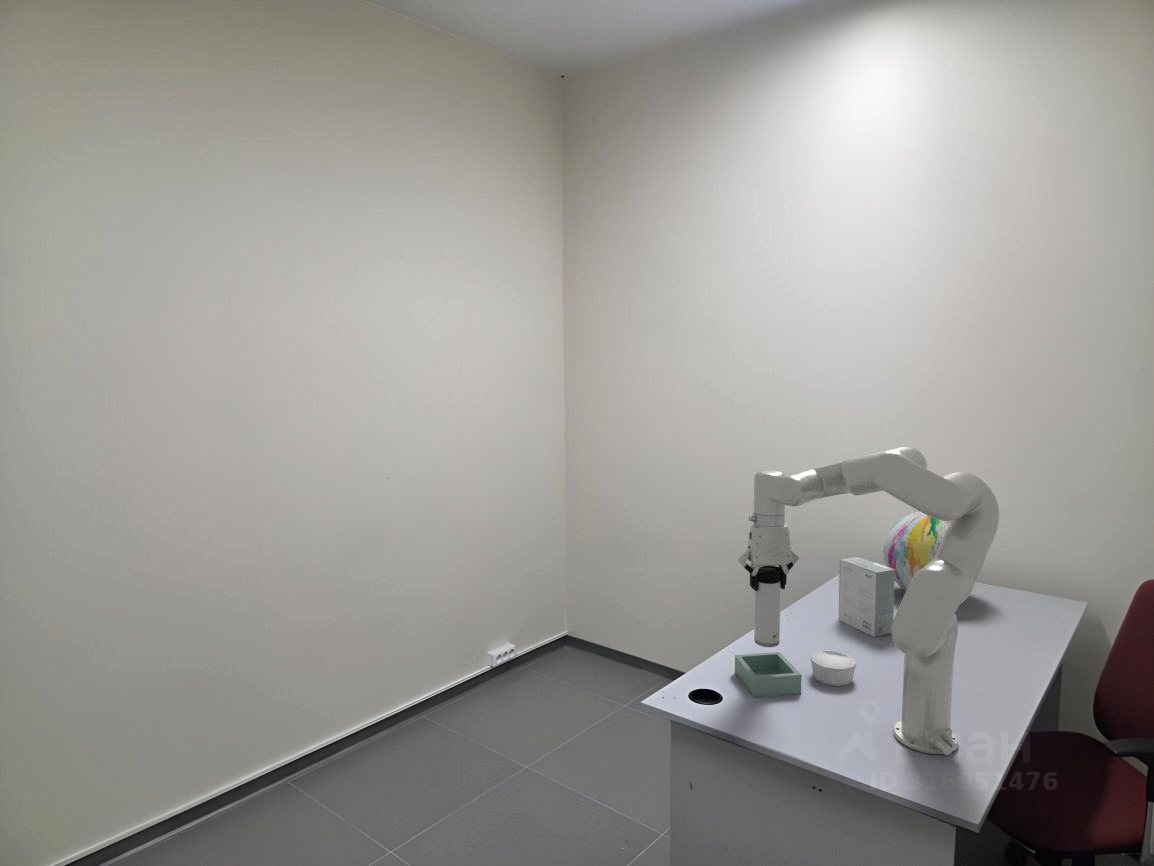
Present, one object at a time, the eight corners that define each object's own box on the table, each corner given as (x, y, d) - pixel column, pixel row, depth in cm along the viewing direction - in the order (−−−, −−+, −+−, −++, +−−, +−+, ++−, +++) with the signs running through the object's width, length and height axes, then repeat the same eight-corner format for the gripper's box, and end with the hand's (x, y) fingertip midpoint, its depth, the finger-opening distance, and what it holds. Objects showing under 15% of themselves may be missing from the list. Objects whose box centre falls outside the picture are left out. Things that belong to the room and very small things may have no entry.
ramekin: (854, 671, 184) (855, 653, 184) (856, 691, 174) (857, 671, 173) (810, 666, 188) (811, 647, 187) (809, 684, 178) (810, 665, 177)
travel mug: (781, 648, 174) (783, 571, 172) (754, 646, 175) (755, 570, 173) (779, 638, 180) (781, 564, 178) (753, 636, 181) (754, 563, 179)
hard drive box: (894, 633, 208) (896, 569, 206) (874, 638, 205) (876, 573, 203) (855, 616, 222) (857, 555, 220) (837, 619, 219) (838, 558, 217)
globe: (863, 588, 247) (865, 506, 244) (930, 578, 256) (933, 499, 253) (928, 618, 219) (932, 526, 215) (1001, 606, 228) (1006, 517, 224)
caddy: (801, 693, 173) (801, 674, 172) (753, 697, 171) (753, 678, 171) (779, 669, 186) (779, 651, 186) (734, 673, 185) (734, 655, 184)
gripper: (741, 525, 169) (740, 595, 171) (808, 521, 171) (806, 591, 173) (730, 517, 176) (730, 585, 179) (795, 514, 178) (793, 581, 181)
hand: (767, 587), depth 176 cm, fingers closed on travel mug, 6 cm apart
